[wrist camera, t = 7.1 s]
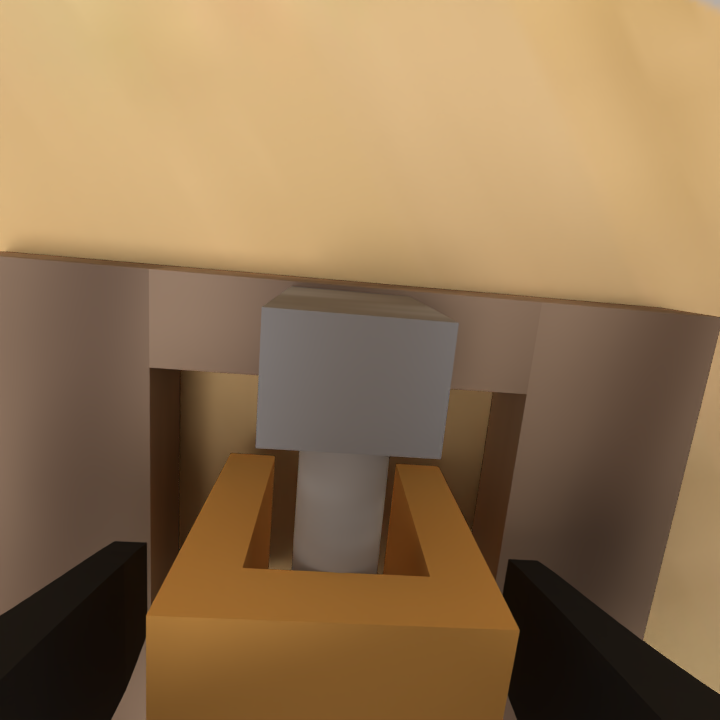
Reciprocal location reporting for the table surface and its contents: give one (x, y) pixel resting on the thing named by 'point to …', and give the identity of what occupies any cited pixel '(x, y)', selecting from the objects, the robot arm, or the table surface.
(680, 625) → the table surface
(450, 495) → the orange slotted block
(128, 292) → the slotted shelf
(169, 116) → the table surface
